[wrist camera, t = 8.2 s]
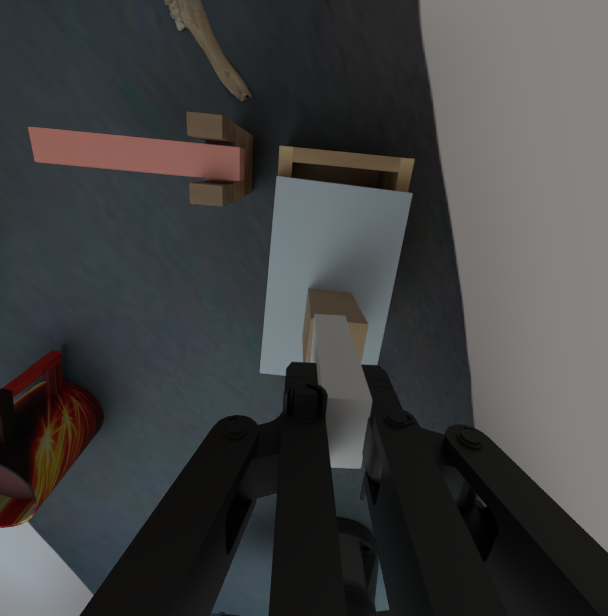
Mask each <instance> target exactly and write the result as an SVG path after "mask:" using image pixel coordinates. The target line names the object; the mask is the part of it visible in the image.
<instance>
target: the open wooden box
mask: <svg viewBox="0 0 608 616" xmlns="http://www.w3.org/2000/svg"><path fill="white" fill-rule="evenodd" d="M414 160H415V159H410V158H400V157H389V156H379V155H369V154H359V153H349V152H339V151H329V150H318V149H308V148H298V147H288V146H280V147H279V165H278V176H281V177H288V178H296V179H304V180H312V181H320V182H328V183H336V184H344V185H351V186H359V187H367V188H375V189H383V190H391V191H399V192H407V193H408V190H409V185H410V180H411V175H412V170H413V165H414Z"/></svg>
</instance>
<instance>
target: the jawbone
mask: <svg viewBox="0 0 608 616" xmlns="http://www.w3.org/2000/svg"><path fill="white" fill-rule="evenodd" d="M164 1H165V5H168V6H169V9H170V14H171V17H172V18H174V19H175V23H176V26H177V28H178V30H179V31H182V30H183V29H184V28H187V29H189V30H190V31H191V32H192V34H193V35H194V37H195V39H196V40H197V42H198V43H199V44H200V46H201V47H202V49H203V50H204V51H205V53H206V55H207V57H208V58H209V61H210V62H211V64H212V66H213V68H214V70H215V72H216V73H217V75H218V77H219V79H220V80H221V81H222V83H223V84H224V85H225V86H226V87H227V89H228V90H229V91H230V92H231V93H232V94H233V95H235V96H236V97H237V98H238V99H239V100H240V101H241V102H243V101H246V100H247V97H245V96H246V95H248V96H249V99H250V98H251V99H252V95H251V93H250V91H249V89H248V87H247V85H246V84H245V82H244V80H243V79H242V78H241V76H240V75H239V74H238V73H237V72H236V70H235V69H234V68H233V67H232V65H231V64H230V63H229V61H228V60H227V58H226V57H225V55H224V53H223V52H222V50H221V48H220V47H219V45H218V43H217V41H216V39H215V36H214V34H213V31H212V29H211V26H210V23H209V21H208V18H207V15H206V12H205V9H204V6H203V4H202V1H201V0H164Z"/></svg>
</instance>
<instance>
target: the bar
mask: <svg viewBox="0 0 608 616" xmlns="http://www.w3.org/2000/svg"><path fill="white" fill-rule="evenodd" d="M28 129H29V134H30V139H31V144H32V149H33V154H34V159H35V162H41V163H52V164H63V165H73V166H84V167H95V168H105V169H116V170H127V171H137V172H148V173H159V174H169V175H180V176H191V177H201V178H212V179H222V180H233V181H242V180H244V164H245V149H243V148H240V147H231V146H221V145H210V144H200V143H190V142H180V141H170V140H159V139H149V138H139V137H129V136H118V135H108V134H98V133H88V132H78V131H67V130H57V129H47V128H37V127H28Z"/></svg>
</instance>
